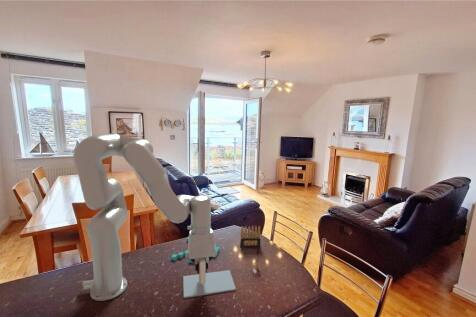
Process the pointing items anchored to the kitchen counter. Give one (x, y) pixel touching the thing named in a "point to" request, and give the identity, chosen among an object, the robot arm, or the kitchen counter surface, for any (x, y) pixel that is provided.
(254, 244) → the ammunition clip
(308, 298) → the kitchen counter surface
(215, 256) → the alien figure
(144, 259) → the kitchen counter surface
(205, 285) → the mat
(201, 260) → the tile
